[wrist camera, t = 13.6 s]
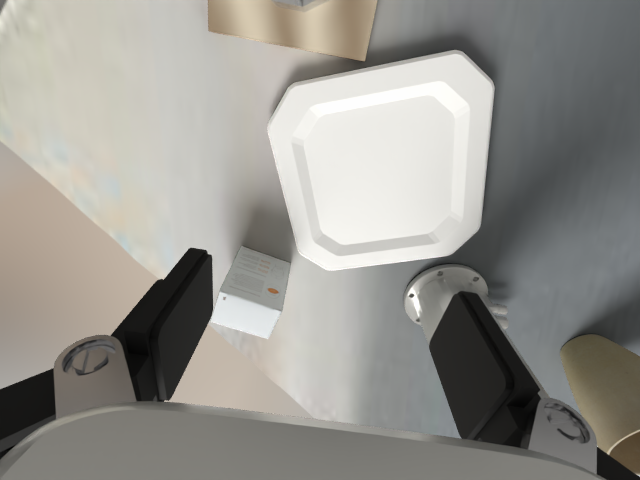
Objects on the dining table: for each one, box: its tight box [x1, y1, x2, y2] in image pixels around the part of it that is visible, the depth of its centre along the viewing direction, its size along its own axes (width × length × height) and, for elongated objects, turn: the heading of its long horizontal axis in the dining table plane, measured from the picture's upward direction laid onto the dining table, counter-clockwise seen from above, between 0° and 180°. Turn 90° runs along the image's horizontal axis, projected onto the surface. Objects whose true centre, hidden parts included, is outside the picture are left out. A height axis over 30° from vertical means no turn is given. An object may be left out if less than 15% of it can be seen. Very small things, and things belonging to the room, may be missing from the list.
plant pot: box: [560, 334, 640, 475], centre depth 45 cm, size 15×15×16 cm
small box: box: [210, 246, 291, 339], centre depth 41 cm, size 8×6×10 cm
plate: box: [267, 50, 495, 271], centre depth 37 cm, size 25×25×2 cm
